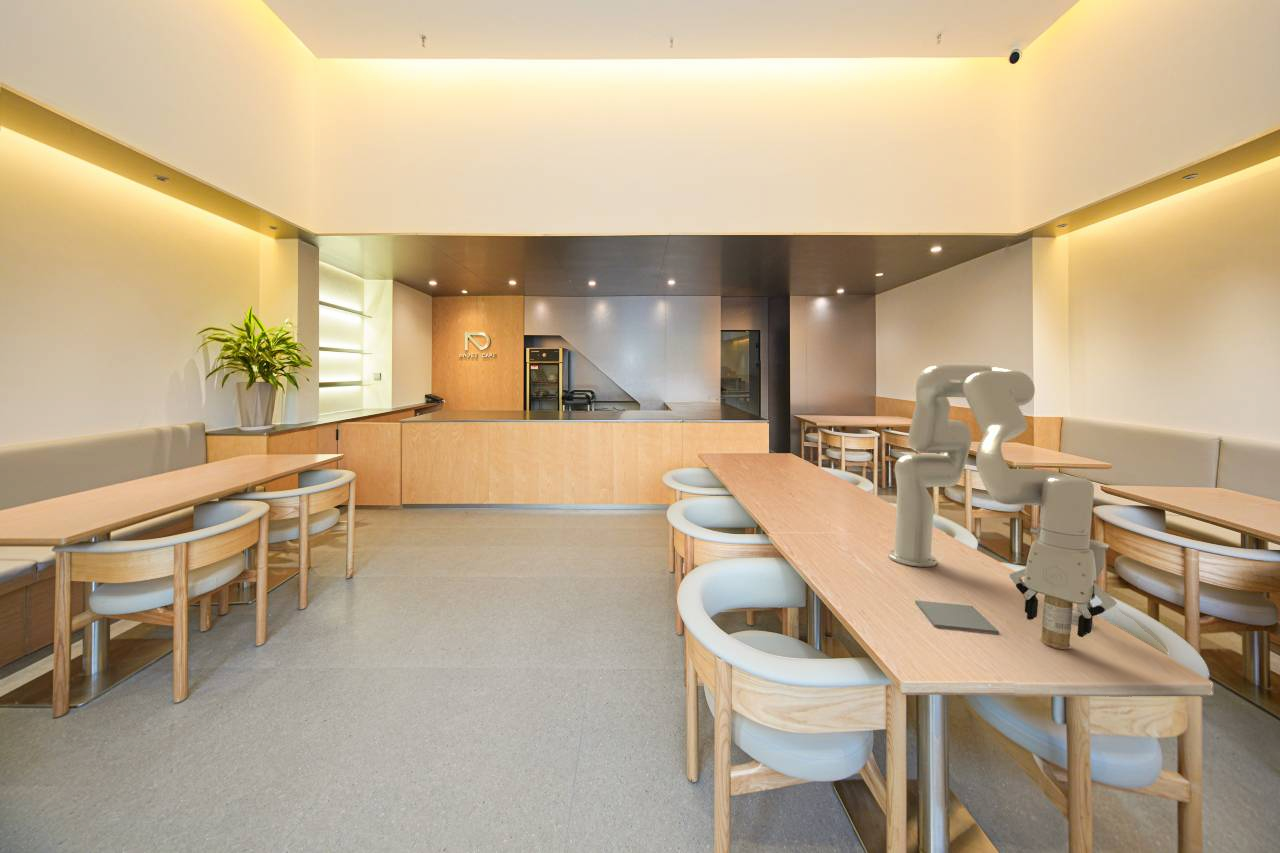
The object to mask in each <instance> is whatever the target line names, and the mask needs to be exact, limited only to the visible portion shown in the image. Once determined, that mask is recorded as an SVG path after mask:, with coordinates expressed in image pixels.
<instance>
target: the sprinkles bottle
mask: <svg viewBox="0 0 1280 853" xmlns="http://www.w3.org/2000/svg"><path fill="white" fill-rule="evenodd" d="M1073 606H1074V603H1072V602H1068V601H1065V600H1061V599H1058V598H1055V597H1051V596H1048V595H1044V600H1043V610H1042V622H1041V625H1042V626H1041V627H1042V628H1041V637H1040V641H1041V642H1042V643H1044V645H1047V646H1048V647H1051V648H1054V649H1058V650H1068V649H1070V648H1071V641H1070V640H1071V632H1072V631H1071V630H1072V624H1071V623H1072V610H1073Z"/></svg>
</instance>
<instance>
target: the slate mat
mask: <svg viewBox="0 0 1280 853" xmlns="http://www.w3.org/2000/svg"><path fill="white" fill-rule="evenodd" d="M914 601H915V602H914V603H915V605H916V606H917V607H918V609H919V610H921V612H922V613H923V614H924V616H925V617H926V618H927V619H928V621H929V622H930V624H932V626H933V627H934V628H939V629H940V628H941V629H949V630H957V631H968V632H979V633H987V634H997V635H998V634H999V629H997V628H996V627H995V626H994V625H993V624H992V623H991V622H990V621H989V620H988V619H987V618H986V617H985V616H983V614H982V613H981V612H980V611H978V610H977V609H976V607H974V606H973V605H968V604H967V605H966V604H957V603H947V602H935V601H927V600H917V599H916V600H914Z"/></svg>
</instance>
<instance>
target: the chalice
mask: <svg viewBox="0 0 1280 853" xmlns="http://www.w3.org/2000/svg"><path fill="white" fill-rule="evenodd" d="M1109 547H1110V545H1109V544H1108V543H1105V542H1103V541H1099V540H1096V539H1091V538H1090V544H1089V549H1090V550H1092V551H1093V553H1094V558H1095V565H1096V579H1097V578H1099V576H1101V573H1102V572H1103V571H1104V568H1105V559H1106V551H1107V550H1108V548H1109ZM1080 615H1082V612H1081V610H1080V609H1079V607H1078V605H1076V608H1074V609H1073V610H1072V623H1071V625H1073V626H1076V627H1078V621H1079V616H1080ZM1094 625H1095V624H1094V622H1093V619H1092V629H1094V628H1096V626H1094Z"/></svg>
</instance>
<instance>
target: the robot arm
mask: <svg viewBox="0 0 1280 853" xmlns="http://www.w3.org/2000/svg"><path fill="white" fill-rule="evenodd" d="M1035 389H1036V388H1035V384H1034V381H1033V379H1032V378H1031V377H1029V375H1027V374H1026V373H1024V372H1022V371H1019V370H1013V369H1008V368H1003V367H998V366H997V367H996V366H991V365H981V364H980V365H979V364H978V365H975V364H972V365H971V364H968V365H967V364H936V365H932V366H928V367H925V368H924V369H923V370H922V371H921V372H920V373H919V375H918V377H917V379H916V382H915V406H914V410H913V412H912V413H913V414H912V418H911V422H910V426H909V432H908V437H907V442H908V445H909V447H910V449H911V450H913V451H915V452H919V453H911V454H905V455H902V456H900V457H899V458H898V459H897V460H896V462H895V464H894V475H895V482H896V510H895V527H894V528H895V529H894V530H895V531H894V546H893V547H894V548H893V549H891V550H889V551H888V553H887V555H888V558H889V559H891V560H893V561H894V562H897V563H899V564H901V565H902V564H903V565H907V566H912V567H921V568H922V567H923V568H924V567H925V568H927V567H928V568H929V567H934V566H936V565H937V564H938V561H937V560H938V559H937V558H936V557H935V556H933V555H932V544H933V543H932V542H933V541H932V540H933V528H934V526H933V524H934V509H935V503H934V499H933V497H932V495H931V494H930V492H929V491H928V489H927V488H932V487H933V488H934V487H935V488H936V487H937V488H938V487H940V488H945V487H946V488H948V487H953V486H956V485H957V484H958V483H959V482H960V481H961V479H962V478H963V477H962V476H963V474H964V471H965V468H966V464H967V460H968V457H969V453H970V450H971V447H972V431H971V429H970V427H969V425H968V424H967V423H965V422H964V421H963V420H958V419H949V416H950V413H951V404H950V401H949V398H965V399H966V401H967V403H968V406H969V408H970V410H971V412H972V414H973V416H974V419H975V420H976V422H977V424H978V428H979V429H980V431H981V433H982V438H981V440H980V441H979V444H978V447H977V450H976V456H975V458H976V459H975V464H976V469H977V472H978V475H979V477H980V480H981V482H982V485H983V486H984V488H985V490H986V491H987V493H988V495H989V496H990V497H991V498H992V499H993V500H995V501H996V502H997V503H999V504H1002V505H1007V506H1011V505H1013V506H1014V505H1015V506H1023V505H1024V506H1025V505H1026V506H1030V505H1031V506H1040V514H1039V526H1038V527H1035V526H1034V527H1033V526H1031V527H1030V530H1029V532H1030V534H1034V536H1036V539H1035V540H1032V541H1031V542H1032V543H1031V545H1030V549H1029V550H1028V551H1029V552H1028V556H1027V560H1026V564H1025V568H1022V569H1019V570H1016V571H1014V572H1011V573H1010V574H1009V578H1010V580H1012V583H1014V584H1015V587H1016V589H1017V590H1018V591H1019V592H1020V594H1021V595H1022V597H1023V598H1024V600H1025V602H1024V603H1025V604H1024V613H1025V614H1026V619H1027V620H1030V621H1031V620H1033V619H1036V618H1037V617H1038V610H1039V608H1038V607H1039V598H1038V597H1037V595H1038V594H1042V595H1044V596H1045V595H1048V596H1051V597H1055V598H1058V599H1061V600H1065V601H1068V602H1072V603H1073V604H1076V606H1078V607H1079V609H1080V610H1081V612H1082V615H1080V616H1079V621H1078V626H1077V636H1078V637H1080V638H1084V637H1085V636H1087V635H1088V634H1091V633H1092V629H1093V628H1092V620H1093V617H1096V616H1098V615H1100V614H1103V613H1104V612H1106V611H1108V610H1110V609H1112V608H1113V607H1115V606H1116V605H1118V604H1117V603H1118V602H1117V600H1116V599H1114V598H1113V597H1112V596H1110V595H1109V594H1108V593H1107V592H1106V591H1105V590H1104V589H1103V588H1101V587H1100V585H1098V584H1097V578H1096V565H1095V558H1094V553H1093V551H1092V550H1090V549H1089V544H1090V539H1091V529H1092V528H1091V527H1092V519H1093V508H1094V496H1095V487H1094V486H1095V485H1094V483H1093V481H1091V480H1089V479H1087V478H1085V477H1084V478H1083V477H1081V476H1080V477H1079V476H1072V475H1067V474H1064V473H1062V472H1059V471H1056V470H1053V469H1048V468H1047V469H1044V468H1043V469H1042V468H1039V469H1038V468H1037V469H1036V468H1009V466H1008V464H1007V462H1006V460H1005V457H1004V455H1003V453H1002V444H1003V443H1005V442H1008V441H1010V440H1012V439H1015V438H1016V437H1018V436H1020V435H1021V434H1023V433H1024V432H1025V430H1026V429H1027V428H1028V421H1027V419H1026V418H1025V416H1024V414H1023V412H1022V410H1021V408H1020V407H1021V406H1022V407H1023V406H1026V405H1027V404H1029V403H1030V402H1031V401H1032V400H1033V398H1034V396H1035V393H1036V390H1035ZM932 453H933V454H932ZM937 453H939V454H937ZM1022 577H1023V578H1024V579H1022ZM1023 580H1024V581H1023ZM1096 597H1097V598H1098V599H1099V600H1100V601H1101V603H1100V604H1098V605H1095V606H1093V604H1092V603H1091V602H1092V600H1094V599H1095V598H1096Z"/></svg>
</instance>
